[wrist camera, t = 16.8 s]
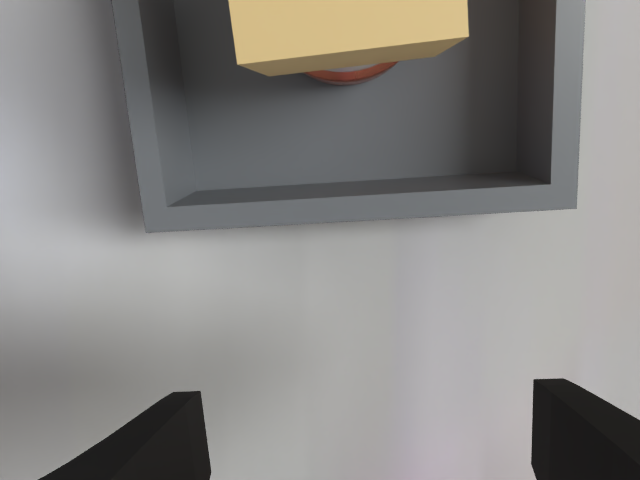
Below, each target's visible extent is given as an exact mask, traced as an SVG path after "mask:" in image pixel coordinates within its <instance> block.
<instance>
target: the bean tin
mask: <svg viewBox="0 0 640 480" xmlns="http://www.w3.org/2000/svg"><path fill="white" fill-rule="evenodd" d="M398 62H399V61H395V62H387V63H378V64H370V65H361V66H353V67H344V68H336V69H327V70H319V71H311V72H303V73H304V74H306V75H307V76H309V77H311V78H313V79H315V80H317V81H320V82H323V83H327V84H332V85H356V84H361V83H364V82H368V81H370V80H373V79H375V78H377V77H379V76H381V75H382V74H384V73H386V72H387V71H388V70H390V69H391V68H392V67H394V66H395V65H396V64H397V63H398Z"/></svg>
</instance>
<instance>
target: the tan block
mask: <svg viewBox="0 0 640 480" xmlns="http://www.w3.org/2000/svg"><path fill="white" fill-rule="evenodd" d="M228 1H229V9H230V16H231V23H232V30H233V37H234V45H235V52H236V59H237V65H240V66H242V67H245V68H248V69H250V70H253V71H256V72H258V73H261V74H264V75H266V76H277V75H286V74H294V73H303V72H311V71H319V70H327V69H336V68H344V67H353V66H361V65H370V64H378V63H387V62H395V61H404V60H412V59H421V58H429V57H435V56H437V55H438V54H440V53H442V52H444V51H445V50H447V49H449V48H450V47H452V46H454V45H455V44H457V43H459V42H460V41H462V40H464V39H466V38H467V37H469V29H468V6H467V0H228Z"/></svg>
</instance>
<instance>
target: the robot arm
mask: <svg viewBox="0 0 640 480" xmlns="http://www.w3.org/2000/svg"><path fill="white" fill-rule="evenodd" d="M531 465H532V467H533V470H534V473H535V476H536V479H537V480H640V420H638V419H637V418H635V417H633V416H631V415H629V414H628V413H626V412H624V411H622V410H621V409H619V408H617V407H615V406H614V405H612V404H610V403H608V402H607V401H605V400H603V399H601V398H600V397H598V396H596V395H594V394H593V393H591V392H589V391H587V390H585V389H584V388H582V387H580V386H578V385H576V384H574V383H572V382H570V381H568V380H566V379H534V384H533V422H532V460H531ZM210 475H211V467H210V459H209V452H208V444H207V437H206V429H205V422H204V414H203V407H202V399H201V392H200V391H191V392H173V393H171V394H169V395H168V396H166V397H164V398H163V399H161V400H160V401H158V402H157V403H155V404H154V405H152V406H151V407H150V408H148V409H147V410H145V411H144V412H142V413H141V414H140V415H138V416H137V417H135V418H134V419H133V420H131V421H130V422H128V423H127V424H125V425H124V426H123V427H121V428H120V429H118V430H117V431H115V432H114V433H113V434H111V435H110V436H108V437H107V438H105V439H104V440H102V441H101V442H99V443H98V444H96V445H94V446H93V447H91V448H90V449H88V450H87V451H85V452H84V453H82V454H80V455H79V456H77V457H76V458H74V459H73V460H71V461H70V462H68V463H66V464H65V465H63V466H61V467H60V468H58V469H56V470H54V471H53V472H51V473H49V474H47V475H46V476H44V477H42V478H40V479H38V480H209V479H210Z"/></svg>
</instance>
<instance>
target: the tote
mask: <svg viewBox="0 0 640 480" xmlns="http://www.w3.org/2000/svg"><path fill="white" fill-rule="evenodd" d="M111 1H112V8H113V14H114V21H115V28H116V35H117V42H118V48H119V55H120V62H121V69H122V75H123V82H124V89H125V96H126V102H127V109H128V116H129V123H130V129H131V136H132V143H133V150H134V157H135V163H136V170H137V177H138V184H139V190H140V197H141V204H142V211H143V217H144V224H145V231H146V233H152V232H170V231H188V230H205V229H223V228H241V227H259V226H277V225H295V224H313V223H330V222H348V221H366V220H384V219H402V218H420V217H438V216H455V215H473V214H491V213H509V212H527V211H545V210H563V209H577V188H578V165H579V142H580V119H581V96H582V73H583V50H584V27H585V4H586V0H467V6H468V29H469V37H467V38H466V39H464V40H462V41H460V42H459V43H457V44H455V45H454V46H452V47H450V48H449V49H447V50H445V51H444V52H442V53H440V54H438V55H437V56H435V57H429V58H421V59H412V60H404V61H399V62H398V63H397V64H396V65H395V66H394V67H392V68H391V69H390V70H388V71H387V72H386V73H384V74H382V75H381V76H379V77H377V78H375V79H373V80H370V81H368V82H364V83H361V84H356V85H332V84H327V83H323V82H320V81H317V80H315V79H313V78H311V77H309V76H307V75H306V74H304V73H294V74H286V75H277V76H266V75H264V74H261V73H258V72H256V71H253V70H250V69H248V68H245V67H242V66H240V65H237V59H236V52H235V45H234V37H233V30H232V23H231V16H230V9H229V1H228V0H111Z"/></svg>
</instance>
